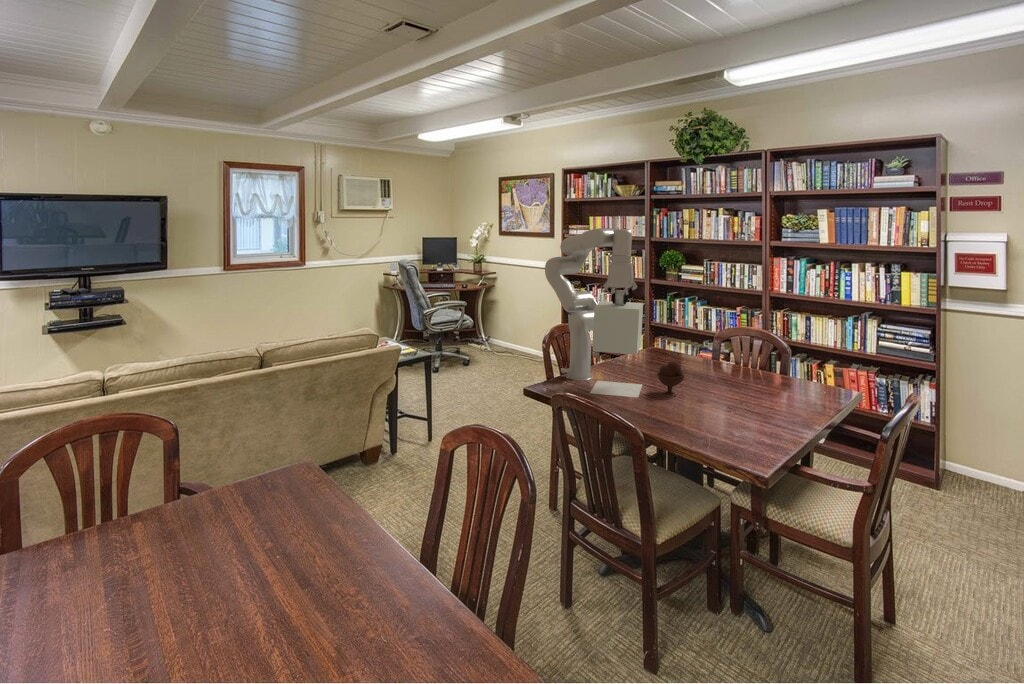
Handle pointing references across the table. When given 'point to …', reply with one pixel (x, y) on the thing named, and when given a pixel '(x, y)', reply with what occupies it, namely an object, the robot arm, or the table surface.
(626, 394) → the mat
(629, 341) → the cover
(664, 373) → the ice cream bowl
